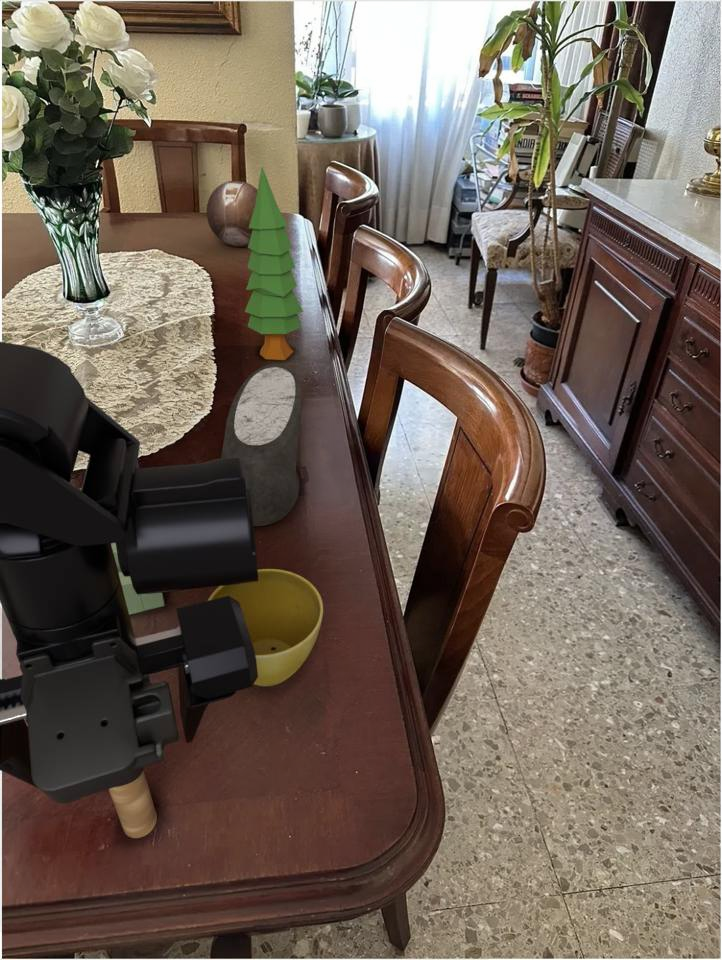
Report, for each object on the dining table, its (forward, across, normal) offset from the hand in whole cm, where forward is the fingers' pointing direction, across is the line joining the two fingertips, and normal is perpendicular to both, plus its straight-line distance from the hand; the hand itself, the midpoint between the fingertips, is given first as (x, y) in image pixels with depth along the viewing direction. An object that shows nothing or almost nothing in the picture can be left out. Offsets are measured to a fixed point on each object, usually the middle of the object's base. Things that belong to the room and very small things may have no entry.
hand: (117, 758), depth 44 cm
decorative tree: (+8, +31, +76) cm, 82 cm away
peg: (+8, 0, 0) cm, 8 cm away
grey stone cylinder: (+8, +21, +41) cm, 47 cm away
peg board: (+8, +1, +30) cm, 31 cm away
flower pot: (+8, +13, +11) cm, 18 cm away
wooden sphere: (+8, +39, +140) cm, 146 cm away
